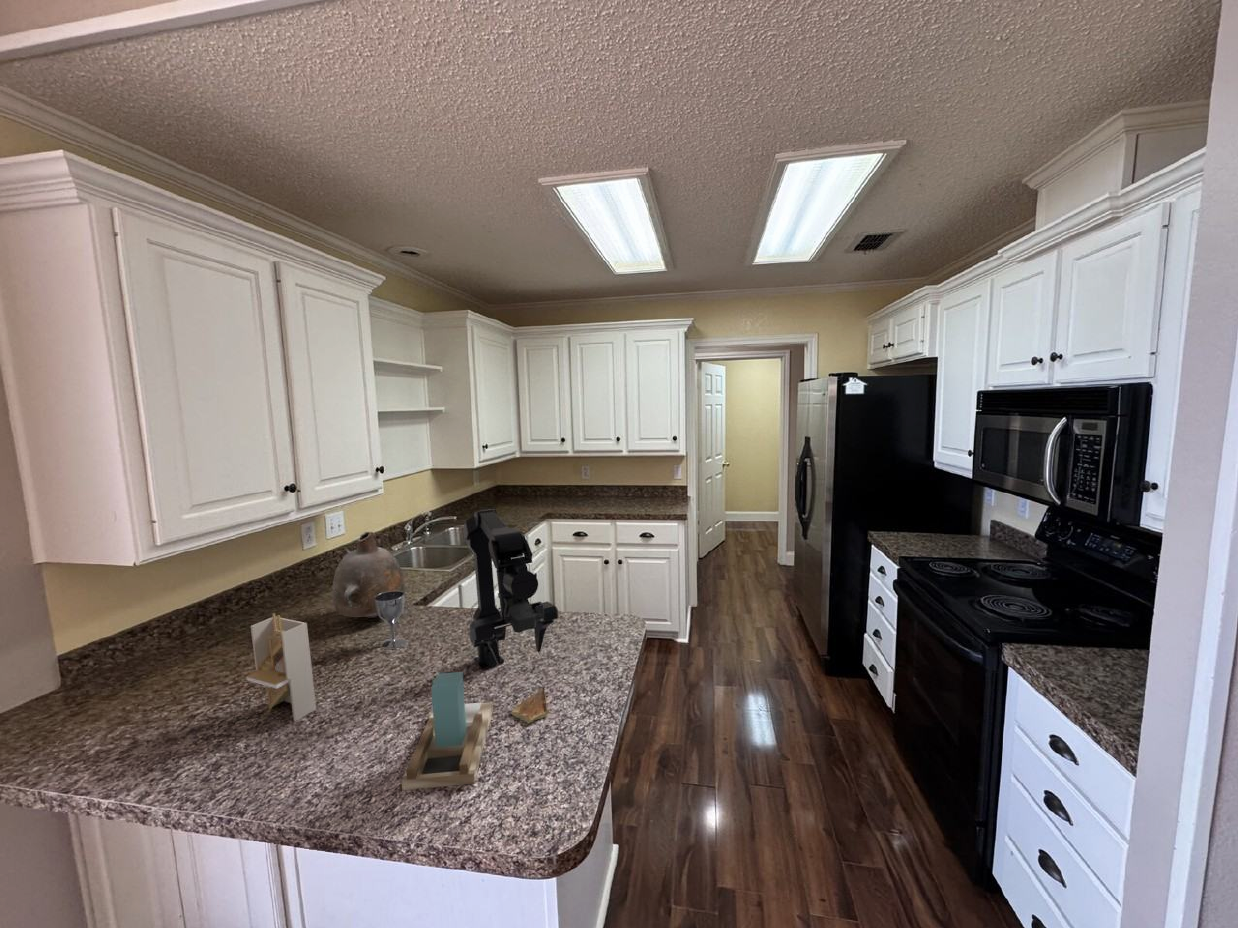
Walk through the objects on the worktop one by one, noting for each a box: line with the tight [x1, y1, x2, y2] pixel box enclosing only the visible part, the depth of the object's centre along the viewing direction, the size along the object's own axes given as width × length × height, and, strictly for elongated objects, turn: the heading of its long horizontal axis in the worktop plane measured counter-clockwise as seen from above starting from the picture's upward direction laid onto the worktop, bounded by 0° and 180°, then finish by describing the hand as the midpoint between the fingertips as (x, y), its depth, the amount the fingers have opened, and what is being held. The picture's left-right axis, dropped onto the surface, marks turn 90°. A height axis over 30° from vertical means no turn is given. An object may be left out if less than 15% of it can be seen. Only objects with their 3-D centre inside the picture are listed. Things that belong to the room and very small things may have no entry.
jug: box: [332, 531, 406, 619], centre depth 162 cm, size 24×21×30 cm
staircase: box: [245, 612, 317, 722], centre depth 112 cm, size 8×12×26 cm
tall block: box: [430, 671, 466, 748], centre depth 100 cm, size 5×5×13 cm
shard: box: [511, 687, 549, 724], centre depth 113 cm, size 11×8×2 cm
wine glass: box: [375, 590, 407, 650], centre depth 145 cm, size 8×8×15 cm
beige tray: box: [401, 701, 494, 791], centre depth 101 cm, size 22×13×4 cm, turn 6°
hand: (519, 657), depth 109 cm, fingers open, 9 cm apart
